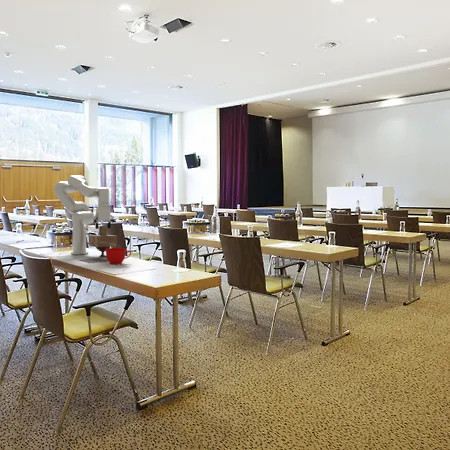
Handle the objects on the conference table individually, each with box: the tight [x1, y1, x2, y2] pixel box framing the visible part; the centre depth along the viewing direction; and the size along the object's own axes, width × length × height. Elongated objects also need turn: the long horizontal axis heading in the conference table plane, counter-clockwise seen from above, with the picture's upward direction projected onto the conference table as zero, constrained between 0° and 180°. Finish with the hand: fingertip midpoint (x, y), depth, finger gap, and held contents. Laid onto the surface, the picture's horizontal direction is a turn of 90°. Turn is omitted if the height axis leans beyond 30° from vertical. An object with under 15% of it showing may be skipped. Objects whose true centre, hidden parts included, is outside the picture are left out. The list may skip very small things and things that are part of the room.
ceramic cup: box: [105, 247, 132, 265], centre depth 312 cm, size 13×17×10 cm
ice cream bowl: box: [95, 247, 111, 258], centre depth 340 cm, size 11×11×15 cm
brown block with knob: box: [88, 225, 118, 248], centre depth 339 cm, size 15×15×15 cm
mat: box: [78, 257, 109, 264], centre depth 321 cm, size 17×17×1 cm
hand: (103, 228), depth 339 cm, fingers open, 9 cm apart
